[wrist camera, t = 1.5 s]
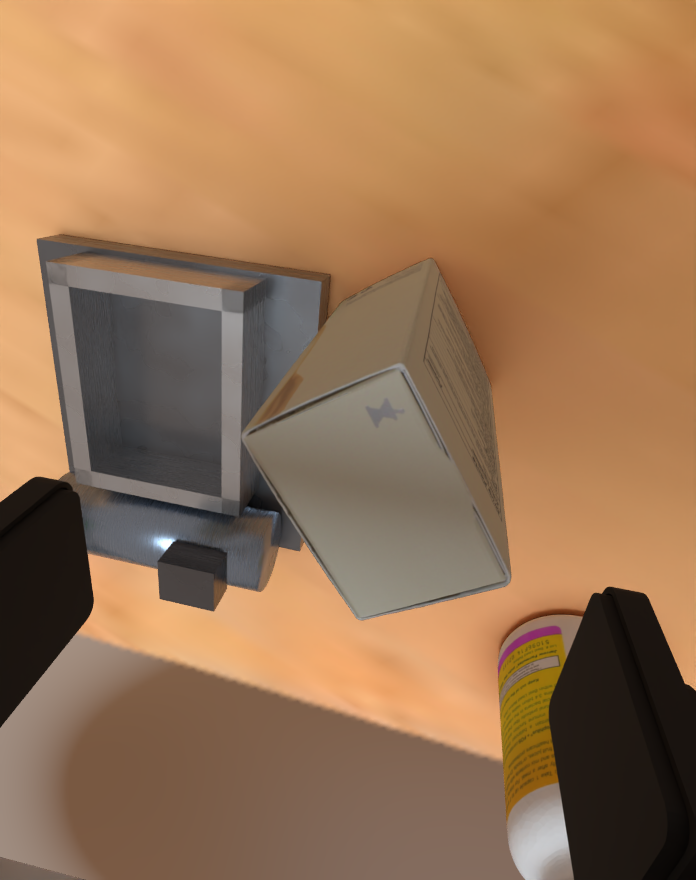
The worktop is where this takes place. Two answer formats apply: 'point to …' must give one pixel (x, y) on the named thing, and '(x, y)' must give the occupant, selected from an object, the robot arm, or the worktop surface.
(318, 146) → the worktop surface
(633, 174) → the worktop surface
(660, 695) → the robot arm
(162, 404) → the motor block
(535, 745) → the supplement bottle
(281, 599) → the worktop surface
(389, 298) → the skincare box
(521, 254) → the worktop surface
